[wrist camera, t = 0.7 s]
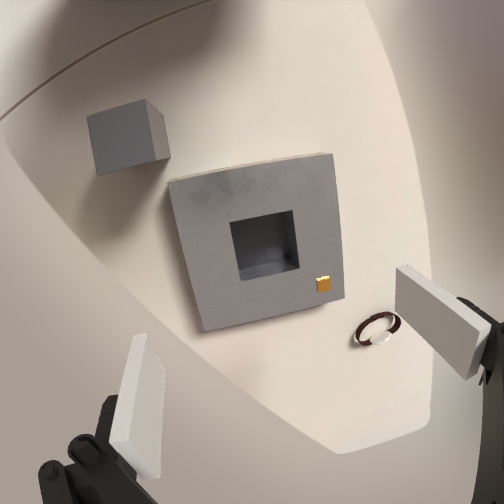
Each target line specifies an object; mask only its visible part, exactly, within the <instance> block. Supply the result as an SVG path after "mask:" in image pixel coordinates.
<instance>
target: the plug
mask: <svg viewBox="0 0 504 504" xmlns="http://www.w3.org/2000/svg"><path fill="white" fill-rule="evenodd" d="M87 121H88V128H89V134H90V140H91V145H92V151H93V156H94V161H95V166H96V171H97V175H98V176H99V175H102V174H106V173H110V172H114V171H118V170H122V169H126V168H130V167H133V166H137V165H141V164H145V163H149V162H153V161H157V160H161V159H166V158H170V157H171V155H170V150H169V145H168V139H167V134H166V128H165V123H164V117H163V115H162V114H161V113H160V112H159V111H158V110H157V109H155V108H154V107H153V106H152V105H151V104H150V103H149V102H148V101H147V100H146V99H144V100H140V101H137V102H133V103H129V104H126V105H122V106H119V107H116V108H112V109H109V110H106V111H103V112H99V113H96V114H93V115H90V116H87Z"/></svg>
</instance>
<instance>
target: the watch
mask: <svg viewBox="0 0 504 504" xmlns="http://www.w3.org/2000/svg"><path fill="white" fill-rule="evenodd" d="M385 315H394V316H395V323H394V325H393V327H392V328H391V329H389V330H388V331H384V332H379V333H376V334H374V335H373V336H372V337H371V338H370V340H367V341H359V337H360V334H361V332H362V330H363V329H364V328H365V327H366V326H367V325H368V324H369V323H371V322H373V321H375V320H377V319H379V318H382V317H384V316H385ZM400 325H401V320H400V318H399V317H398V316H397V315H395V314H393V313H391V312H382V313H377V314H375V315H373V316H371V318H369V319H367V320H365V321H364V322H363V323H362V324H360V325H359V327H358V329H357V331H356V339H357V340H358V342H359V343H360V344H361V345H363V346H368V345H371V344H375V345H377V344H382V343H385V342H387V341H388V340H389V339H390V335H392V334H393V333H395V332H396V331H397V330H398V329H399V327H400Z"/></svg>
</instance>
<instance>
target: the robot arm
mask: <svg viewBox="0 0 504 504" xmlns="http://www.w3.org/2000/svg"><path fill="white" fill-rule="evenodd" d="M395 311H396V312H397V313H398V314H399V315H400V316H401V317H402V318H403V319H404V320H405V321H406V322H407V323H408V324H409V325H410V326H411V327H412V328H413V329H414V330H416V331H417V332H418V333H419V334H420V335H421V336H422V337H423V338H424V339H425V340H426V341H427V342H428V343H429V344H430V345H431V346H432V347H433V348H434V349H435V350H436V351H437V352H438V353H439V354H440V355H441V356H442V357H443V358H444V359H445V360H446V361H447V362H448V363H449V364H450V365H451V366H452V367H453V368H454V369H455V371H456V372H457V373H459V375H460V376H461V377H462V378H463V379H464V380H467V379H469V378H471V377H472V376H474V375H475V374H477V372H478V368H479V366H480V364H481V365H483V366H484V367H485V368H484V370H483V373H482V376H481V379H480V382H479V385H481V383H482V381H483V417H482V433H481V445H480V455H479V463H478V470H477V476H476V483H475V488H474V494H473V498H472V502H471V504H504V322H503V323H498V322H497V321H496V320H494V319H493V318H492V317H490V316H489V315H488V314H486V313H485V312H484V311H482V310H480V309H479V308H478V307H477V306H475V305H474V304H473V303H471V302H470V301H469V300H467V299H464V298H461V297H457V298H455V297H454V296H452V295H451V294H449V293H448V292H447V291H445V290H444V289H442V288H441V287H440V286H438V285H437V284H435V283H434V282H433V281H431V280H430V279H428V278H427V277H425V276H424V275H422V274H421V273H419V272H418V271H417V270H415V269H414V268H412V267H411V266H409V265H408V264H406V265H403V266H400V267H397V268H396V295H395ZM165 383H166V372H165V370H164V367H163V365H162V363H161V361H160V359H159V357H158V355H157V352H156V350H155V348H154V346H153V344H152V342H151V339H150V337H149V334H148V333H144V334H138V335H134V336H133V340H132V344H131V347H130V351H129V355H128V359H127V363H126V367H125V371H124V375H123V379H122V383H121V387H120V391H119V395H111V396H108V398H107V399H106V400H105V402H104V403H103V405H102V409H101V415H100V417H99V422H98V425H97V429H96V434H95V437H94V436H93V435H90V434H82V435H79V436H77V437H75V438H74V439H73V440H72V441H71V442H70V444H69V446H68V455H69V457H70V458H71V459H72V460H73V461H74V462H75V464H71V465H67V466H63V465H62V464H61V463H60V462H59V461H56V460H51V461H48V462H46V463H44V464H43V465H42V466H41V467H40V470H39V472H38V478H39V484H40V489H41V495H42V500H43V504H157V502H156V501H155V500H154V499H153V498H152V497H151V496H150V495H149V494H148V493H147V492H146V491H145V490H144V489H143V488H142V487H141V486H140V485H139V484H138V483H137V482H136V475H137V474H138V475H139V476H140V477H141V478H142V479H160V478H161V448H162V427H163V410H164V396H165Z"/></svg>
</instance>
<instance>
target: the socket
mask: <svg viewBox="0 0 504 504" xmlns="http://www.w3.org/2000/svg"><path fill="white" fill-rule="evenodd" d="M167 184H168V188H169V193H170V198H171V202H172V207H173V211H174V216H175V220H176V224H177V229H178V233H179V237H180V241H181V245H182V250H183V254H184V258H185V262H186V265H187V269H188V273H189V277H190V281H191V285H192V288H193V292H194V296H195V300H196V303H197V307H198V310H199V314H200V318H201V321H202V325H203V328H204V331H210V330H215V329H220V328H224V327H229V326H234V325H238V324H243V323H247V322H252V321H256V320H261V319H265V318H269V317H273V316H278V315H282V314H286V313H290V312H294V311H298V310H302V309H306V308H310V307H314V306H318V305H321V304H325V303H329V302H333V301H336V300H340V299H343V298H345V294H344V272H343V255H342V240H341V227H340V215H339V205H338V195H337V185H336V177H335V168H334V160H333V154H331V153H315V154H307V155H300V156H293V157H286V158H279V159H273V160H267V161H261V162H255V163H249V164H243V165H238V166H232V167H227V168H222V169H217V170H211V171H207V172H202V173H197V174H192V175H188V176H183V177H178V178H174V179H171V180H169V181H168V182H167Z"/></svg>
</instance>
